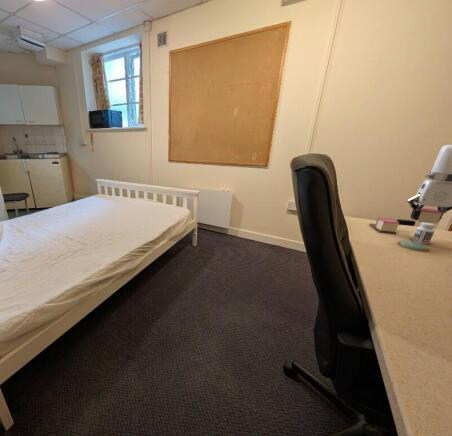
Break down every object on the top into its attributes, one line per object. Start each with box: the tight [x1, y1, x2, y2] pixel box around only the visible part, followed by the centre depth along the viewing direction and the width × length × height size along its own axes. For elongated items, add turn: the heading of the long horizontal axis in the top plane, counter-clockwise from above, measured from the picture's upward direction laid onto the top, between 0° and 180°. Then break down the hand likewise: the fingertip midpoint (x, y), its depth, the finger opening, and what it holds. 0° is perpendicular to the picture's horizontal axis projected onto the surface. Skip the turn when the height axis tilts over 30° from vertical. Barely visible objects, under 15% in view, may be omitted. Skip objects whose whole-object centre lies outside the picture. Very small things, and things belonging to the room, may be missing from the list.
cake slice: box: [410, 207, 442, 225], centre depth 92 cm, size 6×4×5 cm
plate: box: [399, 239, 428, 252], centre depth 97 cm, size 8×8×1 cm
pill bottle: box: [412, 222, 435, 245], centre depth 100 cm, size 5×5×9 cm
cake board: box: [369, 223, 397, 235], centre depth 115 cm, size 6×11×1 cm, turn 160°
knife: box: [375, 217, 417, 227], centre depth 113 cm, size 14×2×5 cm, turn 70°
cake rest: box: [376, 217, 400, 233], centre depth 112 cm, size 6×4×5 cm
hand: (424, 219), depth 93 cm, fingers closed on cake slice, 6 cm apart
